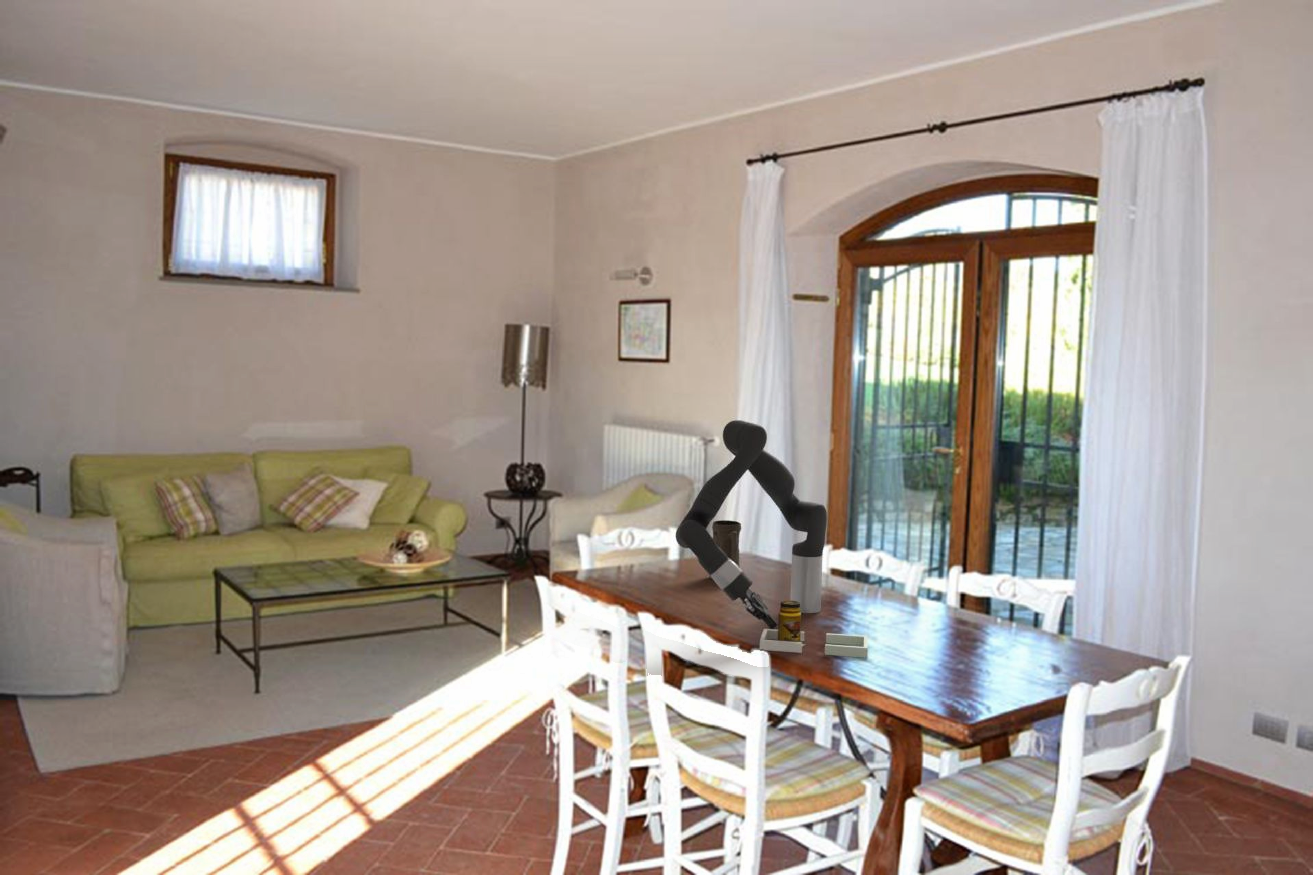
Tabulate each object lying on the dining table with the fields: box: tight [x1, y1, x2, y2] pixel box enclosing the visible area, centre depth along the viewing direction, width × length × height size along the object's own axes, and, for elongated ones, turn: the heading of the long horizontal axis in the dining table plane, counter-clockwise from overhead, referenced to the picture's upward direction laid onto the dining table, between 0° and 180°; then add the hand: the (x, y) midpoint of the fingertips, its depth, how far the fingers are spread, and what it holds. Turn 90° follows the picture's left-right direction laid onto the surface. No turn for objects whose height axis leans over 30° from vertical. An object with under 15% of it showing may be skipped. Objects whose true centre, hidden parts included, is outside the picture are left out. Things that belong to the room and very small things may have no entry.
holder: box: [759, 628, 805, 654], centre depth 299 cm, size 12×11×2 cm
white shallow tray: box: [824, 632, 869, 659], centre depth 296 cm, size 12×11×2 cm
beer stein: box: [708, 519, 742, 581], centre depth 380 cm, size 15×11×20 cm
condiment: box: [774, 599, 806, 647], centre depth 298 cm, size 7×8×12 cm
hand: (775, 626), depth 299 cm, fingers closed
